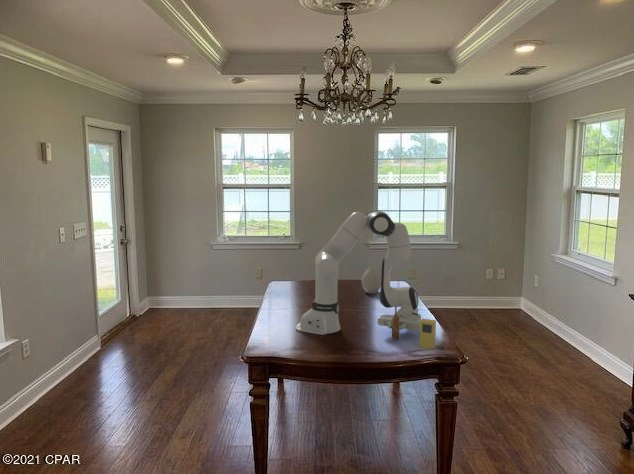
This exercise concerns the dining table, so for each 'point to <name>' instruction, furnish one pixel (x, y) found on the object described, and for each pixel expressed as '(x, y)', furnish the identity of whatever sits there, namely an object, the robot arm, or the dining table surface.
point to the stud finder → (427, 333)
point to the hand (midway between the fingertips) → (394, 327)
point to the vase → (371, 280)
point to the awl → (395, 325)
